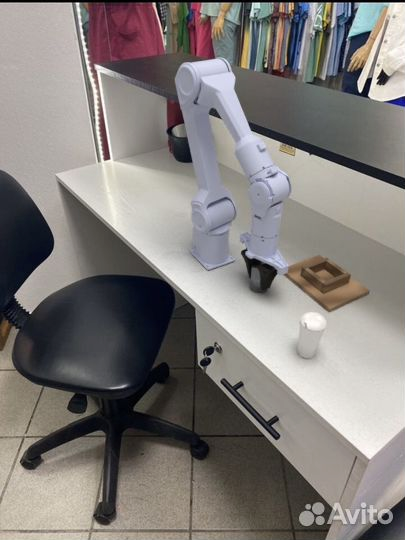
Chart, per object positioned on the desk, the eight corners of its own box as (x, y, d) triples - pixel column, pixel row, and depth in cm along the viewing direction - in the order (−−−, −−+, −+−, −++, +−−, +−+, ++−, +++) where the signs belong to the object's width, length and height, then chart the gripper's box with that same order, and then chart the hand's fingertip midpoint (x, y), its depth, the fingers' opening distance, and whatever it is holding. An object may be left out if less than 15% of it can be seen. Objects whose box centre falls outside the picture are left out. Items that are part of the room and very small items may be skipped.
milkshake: (286, 354, 73) (293, 315, 67) (302, 339, 76) (311, 301, 70) (307, 368, 70) (316, 329, 64) (322, 352, 73) (333, 313, 67)
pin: (246, 285, 89) (248, 264, 85) (260, 280, 91) (262, 259, 87) (256, 295, 86) (259, 274, 83) (271, 289, 88) (274, 268, 84)
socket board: (280, 272, 93) (282, 260, 91) (318, 258, 98) (320, 246, 95) (328, 312, 82) (332, 299, 80) (368, 294, 87) (372, 281, 84)
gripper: (229, 220, 83) (226, 271, 91) (271, 254, 73) (264, 307, 81) (256, 212, 85) (251, 262, 94) (300, 243, 75) (290, 296, 84)
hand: (259, 282), depth 87 cm, fingers closed on pin, 4 cm apart
